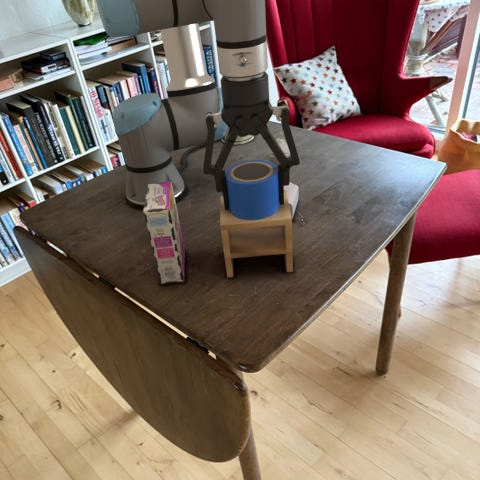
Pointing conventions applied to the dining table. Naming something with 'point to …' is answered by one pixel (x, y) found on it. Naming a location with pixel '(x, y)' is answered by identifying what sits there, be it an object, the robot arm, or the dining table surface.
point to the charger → (292, 196)
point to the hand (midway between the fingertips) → (254, 203)
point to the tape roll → (253, 189)
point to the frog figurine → (284, 148)
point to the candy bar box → (165, 232)
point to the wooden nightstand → (257, 236)
